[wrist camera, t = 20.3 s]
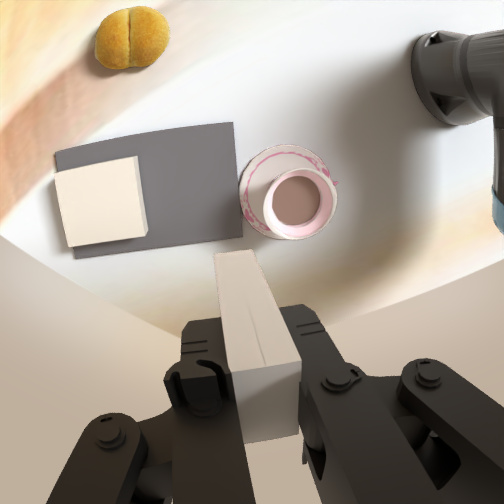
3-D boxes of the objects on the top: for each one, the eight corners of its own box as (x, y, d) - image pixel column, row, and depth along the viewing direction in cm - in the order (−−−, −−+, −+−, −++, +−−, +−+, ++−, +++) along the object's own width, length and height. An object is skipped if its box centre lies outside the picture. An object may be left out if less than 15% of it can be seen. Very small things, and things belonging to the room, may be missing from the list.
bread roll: (170, 65, 31) (167, 57, 27) (98, 74, 30) (87, 69, 26) (172, 6, 28) (169, -7, 24) (101, 16, 27) (92, 6, 23)
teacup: (265, 254, 41) (276, 274, 36) (220, 173, 37) (223, 180, 31) (344, 210, 41) (365, 224, 35) (307, 128, 36) (326, 128, 31)
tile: (137, 155, 34) (62, 170, 33) (133, 157, 31) (53, 173, 30) (148, 229, 37) (76, 240, 36) (145, 236, 35) (68, 247, 33)
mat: (57, 151, 32) (55, 152, 32) (232, 122, 35) (233, 121, 34) (77, 257, 37) (75, 258, 37) (241, 235, 40) (242, 237, 39)
